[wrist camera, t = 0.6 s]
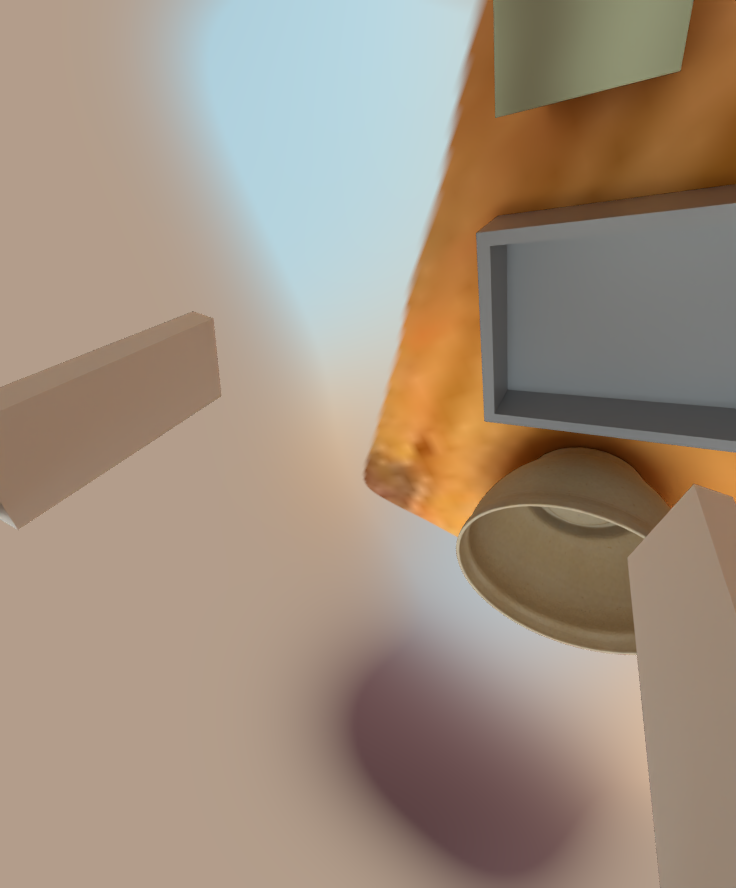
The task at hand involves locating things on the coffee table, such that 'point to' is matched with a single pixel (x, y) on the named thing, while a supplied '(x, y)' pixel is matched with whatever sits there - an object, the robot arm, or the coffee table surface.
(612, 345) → the bin
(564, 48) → the olive block
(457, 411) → the coffee table surface
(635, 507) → the planter bowl
